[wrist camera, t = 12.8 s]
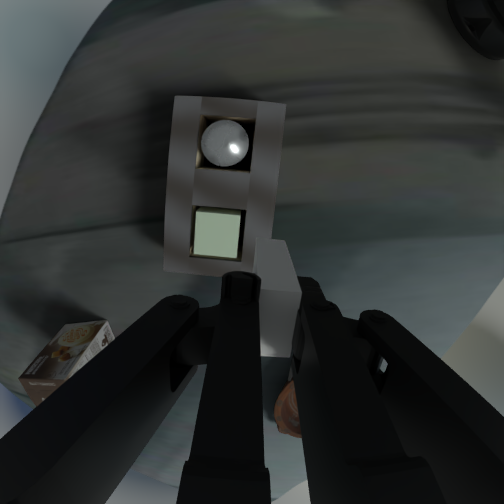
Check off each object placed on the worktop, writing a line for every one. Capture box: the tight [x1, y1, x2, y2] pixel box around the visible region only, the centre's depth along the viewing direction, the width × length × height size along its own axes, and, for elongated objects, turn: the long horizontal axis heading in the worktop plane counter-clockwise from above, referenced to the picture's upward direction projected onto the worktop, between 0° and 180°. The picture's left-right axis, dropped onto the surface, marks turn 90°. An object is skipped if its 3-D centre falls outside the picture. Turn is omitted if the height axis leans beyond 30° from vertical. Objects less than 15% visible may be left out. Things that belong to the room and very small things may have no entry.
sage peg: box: [194, 206, 241, 258], centre depth 39 cm, size 5×5×7 cm
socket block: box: [163, 96, 286, 277], centre depth 38 cm, size 20×12×7 cm, turn 174°
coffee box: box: [18, 320, 115, 407], centre depth 40 cm, size 9×6×16 cm
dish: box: [274, 377, 302, 438], centre depth 49 cm, size 18×22×5 cm
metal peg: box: [201, 120, 249, 166], centre depth 36 cm, size 5×5×7 cm
